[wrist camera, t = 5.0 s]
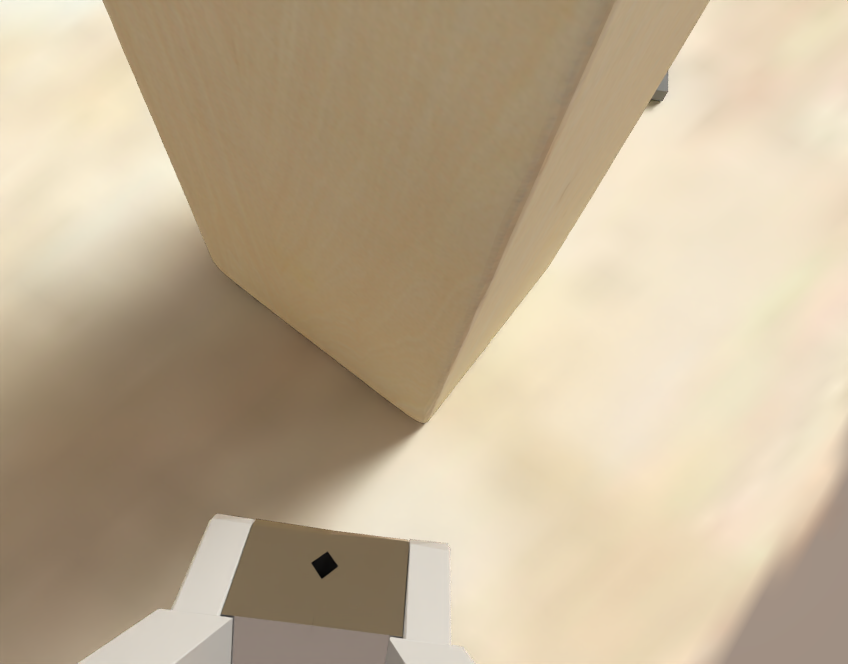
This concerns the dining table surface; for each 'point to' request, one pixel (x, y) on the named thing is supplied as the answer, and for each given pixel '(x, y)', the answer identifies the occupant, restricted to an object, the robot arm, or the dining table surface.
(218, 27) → the wooden rectangular block
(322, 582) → the robot arm
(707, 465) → the dining table surface
